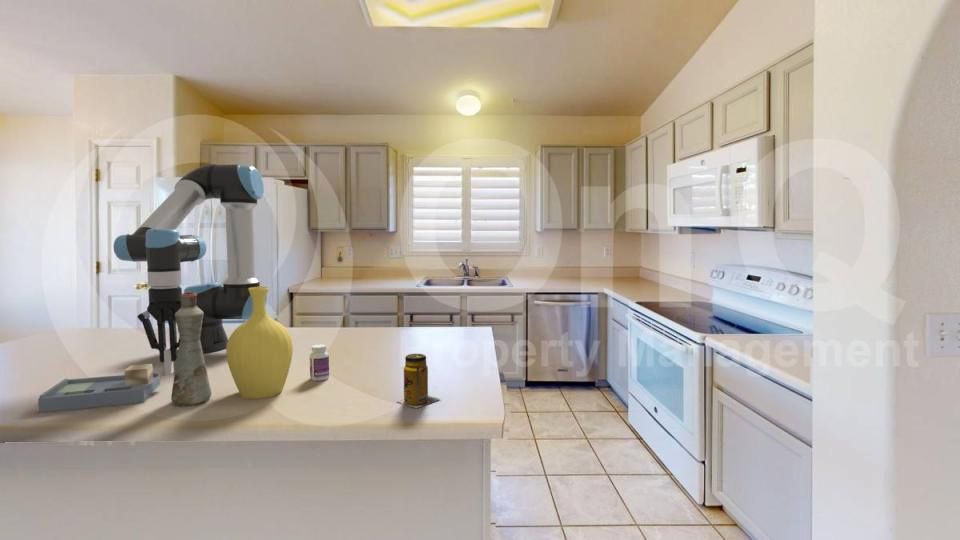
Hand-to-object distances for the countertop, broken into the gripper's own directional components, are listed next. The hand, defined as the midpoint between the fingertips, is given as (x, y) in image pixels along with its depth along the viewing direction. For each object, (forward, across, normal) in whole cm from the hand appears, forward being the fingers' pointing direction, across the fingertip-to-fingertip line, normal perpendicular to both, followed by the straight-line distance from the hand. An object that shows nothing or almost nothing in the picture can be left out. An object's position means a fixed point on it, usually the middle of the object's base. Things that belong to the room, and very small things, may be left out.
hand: (169, 372), depth 133 cm
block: (+2, +7, 0) cm, 7 cm away
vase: (+4, -24, +12) cm, 27 cm away
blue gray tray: (+4, +14, +3) cm, 15 cm away
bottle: (+4, -8, +14) cm, 16 cm away
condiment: (+4, -62, +32) cm, 69 cm away
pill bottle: (+4, -39, +4) cm, 39 cm away
